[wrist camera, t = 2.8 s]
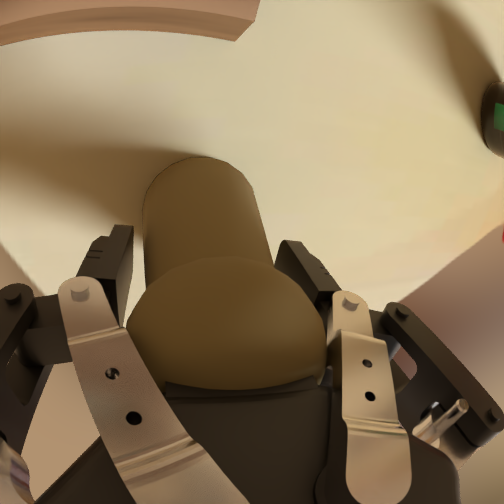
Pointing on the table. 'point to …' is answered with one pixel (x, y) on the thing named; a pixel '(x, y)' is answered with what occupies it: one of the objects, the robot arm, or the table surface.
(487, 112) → the supplement bottle
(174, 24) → the holder block
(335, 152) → the table surface
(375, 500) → the robot arm
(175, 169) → the cork
